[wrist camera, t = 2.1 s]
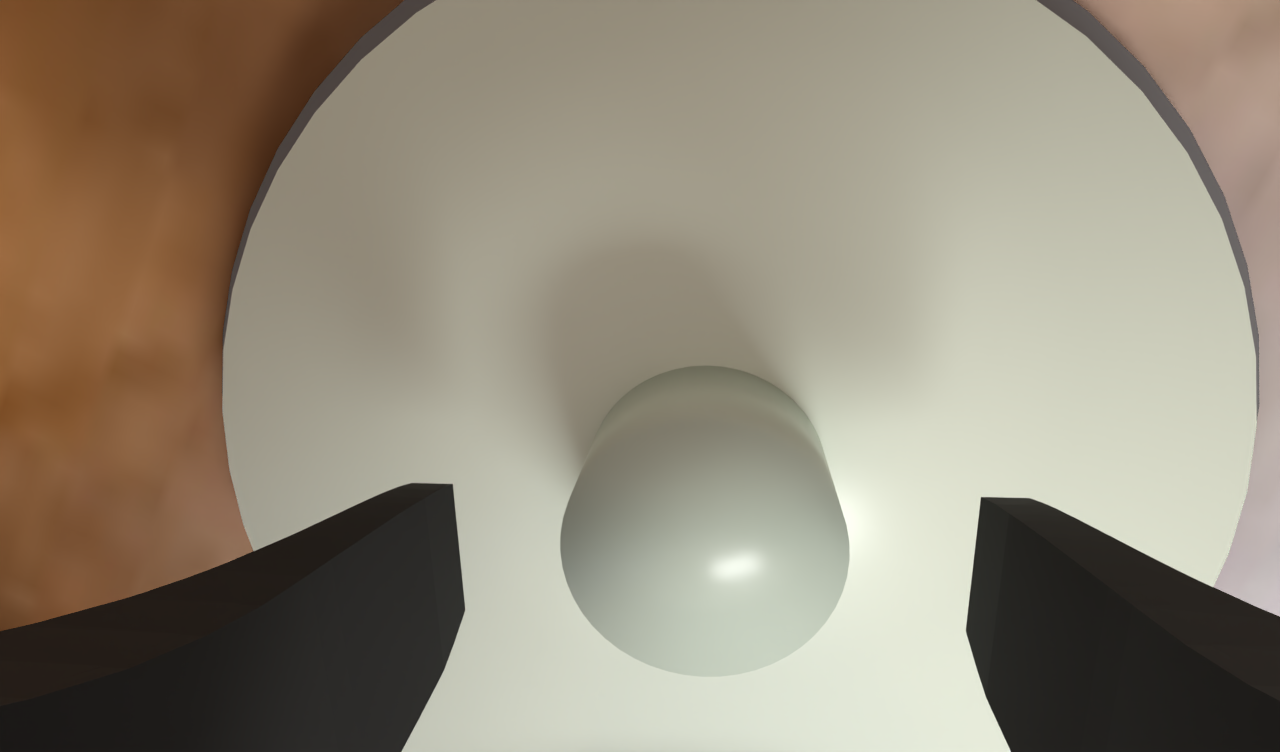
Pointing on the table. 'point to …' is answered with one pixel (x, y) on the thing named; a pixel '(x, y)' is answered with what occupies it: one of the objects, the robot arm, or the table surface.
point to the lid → (737, 351)
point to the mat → (1058, 3)
